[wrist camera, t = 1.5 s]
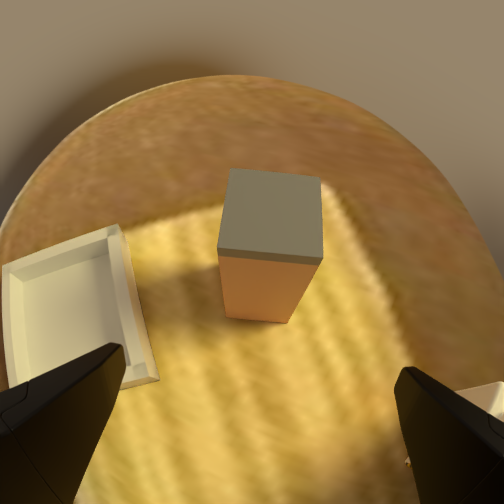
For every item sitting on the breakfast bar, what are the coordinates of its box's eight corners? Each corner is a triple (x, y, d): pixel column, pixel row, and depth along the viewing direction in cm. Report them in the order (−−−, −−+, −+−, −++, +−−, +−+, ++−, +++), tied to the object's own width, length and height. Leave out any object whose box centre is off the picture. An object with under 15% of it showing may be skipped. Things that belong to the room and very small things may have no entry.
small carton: (401, 463, 18) (508, 481, 7) (446, 391, 21) (554, 362, 10) (450, 494, 16) (550, 510, 5) (489, 426, 19) (589, 410, 8)
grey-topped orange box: (287, 322, 23) (323, 258, 13) (226, 317, 23) (217, 247, 13) (289, 267, 25) (320, 177, 16) (232, 262, 25) (230, 168, 16)
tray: (160, 380, 21) (149, 376, 18) (33, 406, 18) (12, 404, 16) (128, 242, 26) (117, 223, 23) (19, 279, 23) (2, 265, 21)
